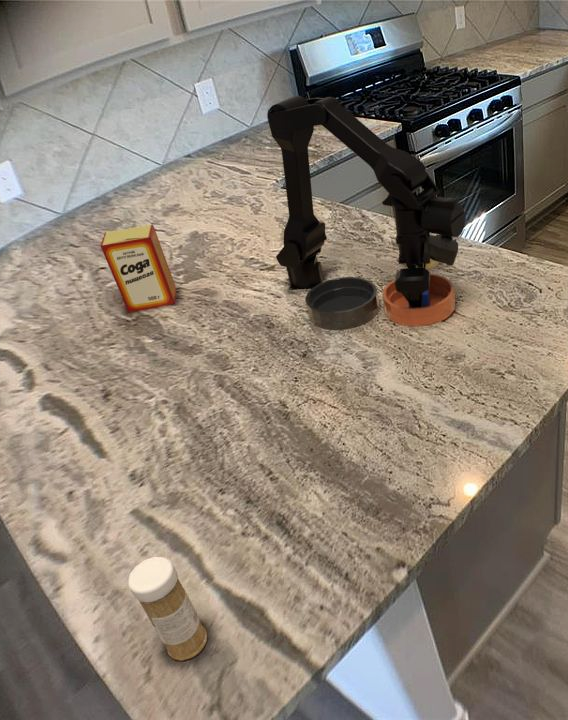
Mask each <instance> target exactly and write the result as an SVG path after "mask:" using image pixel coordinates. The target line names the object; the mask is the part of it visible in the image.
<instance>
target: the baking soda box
mask: <svg viewBox="0 0 568 720" xmlns="http://www.w3.org/2000/svg"><path fill="white" fill-rule="evenodd" d="M159 239H160V238H159V237H158V234H157V231H156V229H155V226H154V224H147V225H141V226H135V227H129V228H124V229H123V228H122V229H117V230H113V231H112V230H111V231H107V232H104V234H103V237H102V240H101V243H100V249H101V251H102V253H103V256H104V258H105V261H106V263H107V265H108V267H109V270H110V272H111V275H112V277H113V279H114V282H115V284H116V287H117V289H118V292H119V293H120V297H121V298H122V301H123V303H124V305H125V308H126V310H127V313H132V312H133V313H134V312H137V311H143V310H148V309H149V310H150V309H153V308H160V307H164V306H169V305H175V304H176V298H177V286H176V284H175V281H174V278H173V275H172V273H171V270H170V268H169V267H170V266H169V264H168V261H167V258H166V256H165V253H164V250H163V248H162V245H161V243H160V240H159Z"/></svg>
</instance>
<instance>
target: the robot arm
mask: <svg viewBox="0 0 568 720" xmlns="http://www.w3.org/2000/svg"><path fill="white" fill-rule="evenodd" d="M266 114H267V115H266V116H267V122H268V126H269V130H270V134H271V137H272V139H273V140H274V141H275V142H276V144H277V146H278V147H279V148H280V150H281V158H282V166H283V175H284V176H283V177H284V183H285V193H286V201H287V209H288V219H287V222H286V224H285V226H284V230H283V239H282V240H283V241H282V242H283V244H282V245H283V247H282V248H281V249H280V251H279V252H278V253H277V255H276V256H275V258H276V260H277V262H278V265H279V266H281V267H284V268H286V272H287V277H288V281H289V284H290V285H289V287H288V290H289V291H297V290H298V291H299V290H311V289H312V288H313V287H315V286H316V285H318V284H320V283H322V282H324V273H323V268H322V263H321V261H319V260H318V254H321V252H322V248H323V246H324V245H325V243H326V240H327V239H328V236H327V233H326V223H325V222H323V221H320V220H319V219H318V218H317V217H316V216H315V212H314V203H313V192H312V190H313V189H312V179H311V170H310V169H311V168H310V157H309V156H310V155H309V145H310V143H311V140H312V137H313V134H314V130H315V127H316V126H321V127H323V128H325V129H326V130H327V131H328V132H330V134H332V135H333V136H334V137H335V138H336V139H337V140H338V141H340V142H341V143H342V144H343V145H344V146H345V147H347V148H348V150H350V151H352V153H354V154H355V155H356V156H358V157H359V158H360V159H361V160H362V161H363V162H364V163H366V164H367V165H368V166H369V167H370V168H371V169H372V170H373V172H374V176H375V177H376V181H377V182H378V183H379V184H380V185H381V187H383V189H384V190H385V191H386V192H387V193H388V195H387V197H386V198H385V199H384V200H382V202H381V203H382V205H384V206H387V207H392V209H393V216H394V223H395V231H396V236H395V244H396V245H397V247H398V258H397V259H398V265H404V264H406V265H407V266H406V267H407V268H406V267H405V268H400V269H399V270H398V271H397V272H396V276H395V279H394V280H395V286H396V291H398V292H400V293H401V294H402V295H403V296H404V297H405V298H406V300H407V301H408V303H409V304H410V305H411V307H412V308H419V307H421V305H422V295H423V292H424V291H427V290H429V289H430V274H431V273H430V270H427V269H425V267H426V264H430V259H432V260H434V261H437V262H440V263H441V264H445V265H446V266H449V267H452V266H454V265H455V262H456V259H457V255H458V253H459V243H458V242H457V238H459V237H460V236H461V235H462V234H463V231H464V228H465V226H466V219H467V217H466V215H467V214H466V211H465V210H464V207H463V205H461V204H460V202H459V198H458V197H443V196H438V195H440V193H441V190H440V189H439V188H438V186H437V185H436V183H435V182H434V180H433V179H432V178H431V176H430V175H429V173H428V172H427V171H426V170H427V169H426V166H425V164H424V163H423V162H422V161H421V160H420V159H419V158H418V157H417V158H416V157H415V156H413V155H412V154H411V153H409V152H407V151H405V150H404V149H399V148H395V147H392V146H391V145H389V144H388V143H386V142H385V141H384V140H383V139H381V137H379V136H378V135H377V134H376V133H374V131H372V129H370V128H368V126H366V125H365V124H364V123H362V121H360V120H359V118H357V117H355V116H354V115H353V114H352V113H351V112H350V111H349V110H347V109H346V108H345V107H344V106H343V105H342V102H341V101H339V99H338V98H337V97H334V96H333V97H332V96H327V97H324V98H323V97H312V98H305V97H303V96H301V95H294V96H291V97H289V98H287V99H285V100H282V101H280V102H277V103H275V104H273V105H271V106H270V107H269V108H268V109H267V112H266ZM420 189H423V190H421V192H419V193H418V194H416V195H414V193H415V192H417V191H418V190H420ZM455 238H456V239H455Z"/></svg>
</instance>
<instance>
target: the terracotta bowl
mask: <svg viewBox="0 0 568 720" xmlns="http://www.w3.org/2000/svg"><path fill="white" fill-rule="evenodd" d="M429 294H430V306H426V307H419V308H409V304H408V301H407V300H406V298H405V297H404V296H403V295H402V294H401V293H400V292H398V291H396V286H395V279H394V280H392V281H390V282H389V283H387V284H386V286H385V287H384V288H383V290H382V302H383V307H384V312H385V315H386V317H387V319H389V320H390V321H391V322H393V323H395V324H398V325H401V326H407V327H425V326H429V325H435V324H437V323H439V322H443V321H445V320H446V319H447V318H449V317H450V316H451V315H452V314H453V312H454V311H455V309H456V295H455V286H454V284H453V282H452V280H450V279H448V278H447V277H446V276H444V275H439V274H436V273H430V289H429Z"/></svg>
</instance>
